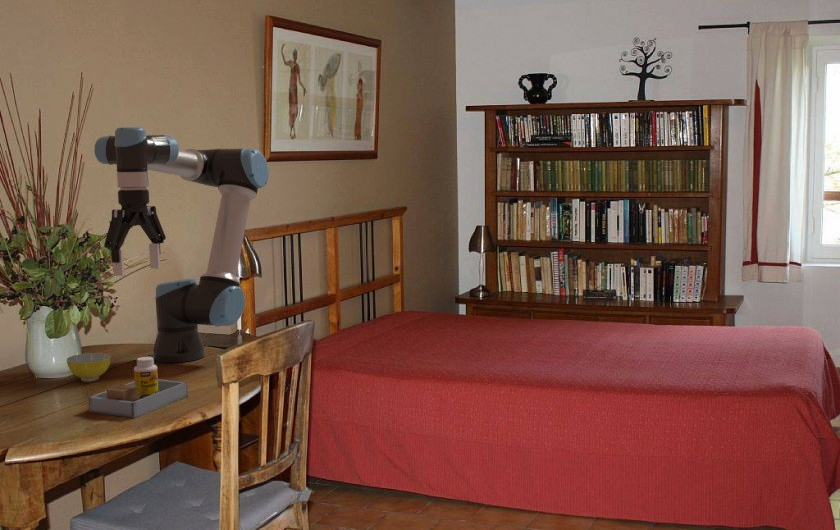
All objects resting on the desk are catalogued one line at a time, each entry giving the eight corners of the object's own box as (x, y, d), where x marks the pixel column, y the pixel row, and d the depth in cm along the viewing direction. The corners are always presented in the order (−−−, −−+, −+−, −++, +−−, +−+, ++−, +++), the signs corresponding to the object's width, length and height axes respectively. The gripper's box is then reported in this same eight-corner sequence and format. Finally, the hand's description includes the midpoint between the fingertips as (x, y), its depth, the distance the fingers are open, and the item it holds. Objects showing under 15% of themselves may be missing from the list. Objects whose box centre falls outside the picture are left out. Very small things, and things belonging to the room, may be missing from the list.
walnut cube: (122, 404, 222) (121, 384, 222) (138, 406, 220) (137, 386, 220) (107, 409, 218) (106, 389, 217) (124, 412, 216) (123, 391, 215)
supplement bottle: (139, 403, 223) (137, 362, 222) (132, 398, 228) (130, 357, 226) (162, 399, 226) (159, 358, 225) (154, 394, 231) (152, 354, 229)
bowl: (121, 376, 252) (120, 354, 251) (91, 386, 241) (89, 363, 241) (89, 372, 256) (88, 351, 256) (58, 382, 246) (57, 360, 245)
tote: (144, 391, 236) (144, 377, 236) (187, 396, 231) (187, 382, 230) (89, 411, 218) (88, 397, 218) (134, 418, 213) (133, 403, 212)
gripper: (154, 186, 245) (158, 264, 248) (85, 191, 222) (91, 277, 225) (176, 186, 242) (180, 266, 245) (109, 191, 219) (115, 279, 222)
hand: (137, 271), depth 235 cm, fingers open, 13 cm apart
